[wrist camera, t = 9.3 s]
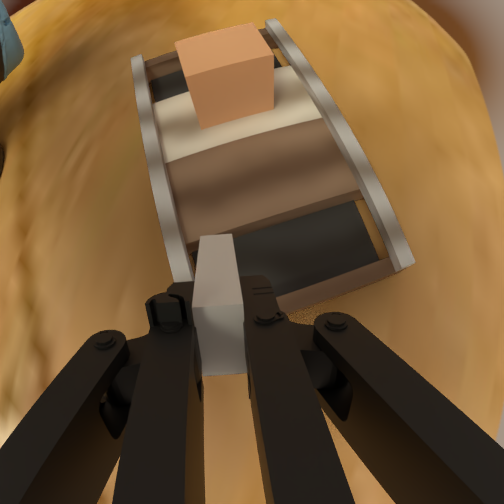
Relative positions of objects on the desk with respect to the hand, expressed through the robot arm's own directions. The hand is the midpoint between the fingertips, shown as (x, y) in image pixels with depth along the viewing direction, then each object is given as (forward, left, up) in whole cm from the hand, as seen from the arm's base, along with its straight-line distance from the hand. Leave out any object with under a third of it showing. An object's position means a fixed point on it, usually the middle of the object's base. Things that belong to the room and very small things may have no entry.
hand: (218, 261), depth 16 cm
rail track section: (-15, +5, -15) cm, 22 cm away
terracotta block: (-21, +5, -12) cm, 24 cm away
